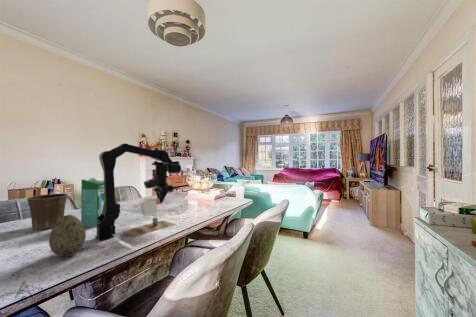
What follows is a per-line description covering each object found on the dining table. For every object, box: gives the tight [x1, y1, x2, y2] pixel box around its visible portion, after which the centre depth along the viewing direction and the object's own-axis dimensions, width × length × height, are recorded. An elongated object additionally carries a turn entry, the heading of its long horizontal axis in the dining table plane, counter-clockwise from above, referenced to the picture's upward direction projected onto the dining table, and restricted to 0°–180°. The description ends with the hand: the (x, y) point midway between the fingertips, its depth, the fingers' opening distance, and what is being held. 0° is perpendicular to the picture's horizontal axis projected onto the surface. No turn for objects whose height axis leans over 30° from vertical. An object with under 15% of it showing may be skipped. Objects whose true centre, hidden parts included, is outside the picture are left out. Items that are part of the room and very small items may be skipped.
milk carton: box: [80, 177, 105, 228], centre depth 117 cm, size 9×9×25 cm
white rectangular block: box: [138, 198, 162, 217], centre depth 112 cm, size 11×6×6 cm, turn 132°
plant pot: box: [26, 193, 69, 231], centre depth 112 cm, size 16×16×16 cm
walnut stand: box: [121, 216, 177, 238], centre depth 109 cm, size 23×12×5 cm, turn 143°
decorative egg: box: [48, 214, 87, 257], centre depth 80 cm, size 11×11×15 cm
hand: (160, 202), depth 115 cm, fingers closed on white rectangular block
